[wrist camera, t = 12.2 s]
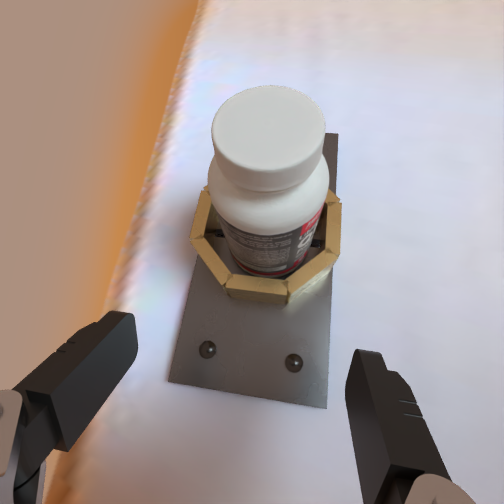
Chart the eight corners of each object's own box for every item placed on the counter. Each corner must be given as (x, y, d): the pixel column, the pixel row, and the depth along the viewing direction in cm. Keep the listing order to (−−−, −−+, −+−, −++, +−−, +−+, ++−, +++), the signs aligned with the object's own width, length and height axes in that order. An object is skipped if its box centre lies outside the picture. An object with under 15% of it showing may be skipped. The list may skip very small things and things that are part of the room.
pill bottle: (312, 279, 17) (356, 187, 8) (227, 280, 18) (180, 191, 9) (307, 205, 19) (338, 65, 10) (230, 206, 20) (196, 73, 11)
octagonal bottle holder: (229, 134, 23) (222, 100, 20) (336, 141, 22) (346, 106, 19) (172, 380, 16) (150, 384, 13) (324, 406, 15) (336, 417, 12)
